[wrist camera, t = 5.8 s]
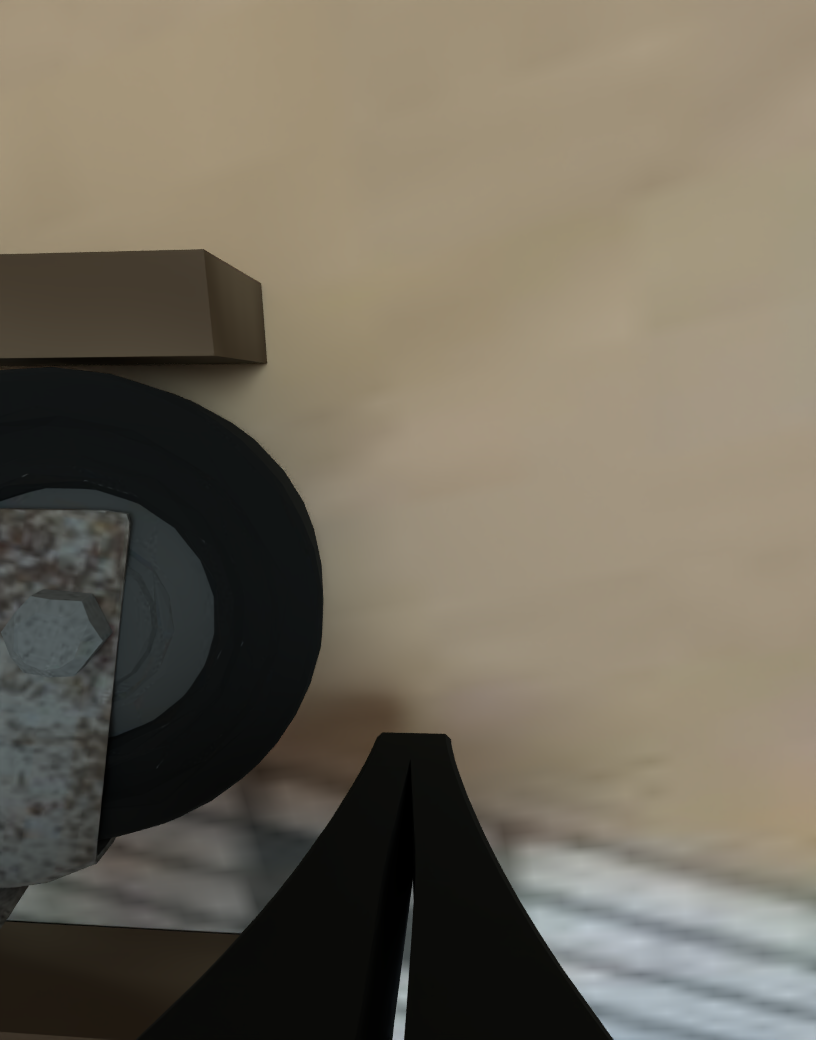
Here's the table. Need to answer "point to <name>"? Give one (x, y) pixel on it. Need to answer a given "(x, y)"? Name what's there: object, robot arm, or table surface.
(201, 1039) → the robot arm
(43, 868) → the caster wheel
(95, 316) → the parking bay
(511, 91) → the table surface
